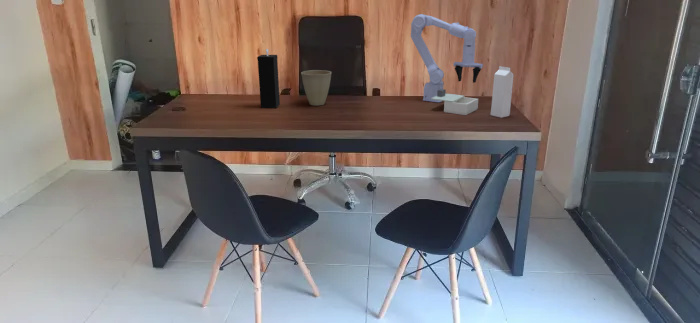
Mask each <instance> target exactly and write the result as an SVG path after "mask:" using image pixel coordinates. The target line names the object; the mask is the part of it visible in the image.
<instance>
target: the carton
mask: <svg viewBox="0 0 700 323" xmlns="http://www.w3.org/2000/svg"><path fill="white" fill-rule="evenodd" d="M443 102H444V103H443V104H444V106H443V112H444V113H447V114H448V113H449V114H456V115H461V116H462V115H463V116H468V115H469V114H472V113H473V112H474V111H477V110H479V108H478V107H479V98H473V97H463V98H461V99H459V100H457V101H454V102H446V101H443Z"/></svg>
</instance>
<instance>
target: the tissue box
mask: <svg viewBox="0 0 700 323" xmlns="http://www.w3.org/2000/svg"><path fill="white" fill-rule="evenodd" d="M265 52H266V54H260V55H258V56H257V57H256V59H257V70H258V83H259V97H260V98H259V99H260V102H259V103H260V108H261V109H277V108H278V107H279V106H280V104H281V103H280V102H281V100H280V84H279V65H278V64H279V63H278V54H269V48H266V49H265Z"/></svg>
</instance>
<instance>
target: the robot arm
mask: <svg viewBox="0 0 700 323" xmlns="http://www.w3.org/2000/svg"><path fill="white" fill-rule="evenodd" d="M410 24H411V25H410V26H411V27H410V38H411V40H412V43H413V44H414V46H415V48H416V50H417V52H418V54H419V55H420V57H421V59H422V61H423V63H424V65H425V67H426V70H427V73H428V75H429V81H428V82H426V83H424V87H423V99H422V101H426V102H431V103H432V102H433V103H442V102H443V101H439V100H431V98H433V97H435V96H437V90H440V89H444V83H445V82H444V81H443V79H444V76H445V73H444V71H443V70H442V69H441V68H440V67H439V66H438V64H437V63H436V62H435V59H434V58H433V55H432V54H431V51H430V50H429V48H428V46H427V43H426V42H425V40H424V38H423V37H422V36H423V35H422V34H423V31H424V29H425V27H429V26H430V27H431V26H434V27H437V28H440V29H444V30H446V31H448V33H449V35H452V36H454V37H457V38H460V39H463V44H462V45H463V47H462V58H461V59H462V61H454V62H453V67H454V70H455V73H456V75H457V80H458V82H462V78H463V77H462V76H463V70H464V68H472V73H473V74H472V76H473V77H472V83H473V84H475V83H476V82H477V78H478V76H479V74H480V72H481V70H482V69H483V68H484V63H477V62H475V57H476V56H475V55H476V38H477V32H476V30H475V29H473V28H472V27H471V28H470V27H469V26H465V25H462V24H460V22H452V23H449V22H446V21H444V20H442V19H440V18H438V17H435V16H431V15H428V14H427V15H426V14H424V13H420V14H417V15H415V16H414V17H413V18H412V21H411V23H410Z"/></svg>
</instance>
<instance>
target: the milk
mask: <svg viewBox="0 0 700 323" xmlns="http://www.w3.org/2000/svg"><path fill="white" fill-rule="evenodd" d="M513 85H514V73H513V72H512V71H511V67H506V66H501V65H499V66H498V70H497V71H496V72H495V73H494V76H493V86H492V97H491V105H490V106H491V107H490V108H491V109H490V116H493V117H496V118H501V119H502V118H505V117H509V116H510V115H511V103H512V95H513V94H512V93H513Z"/></svg>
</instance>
